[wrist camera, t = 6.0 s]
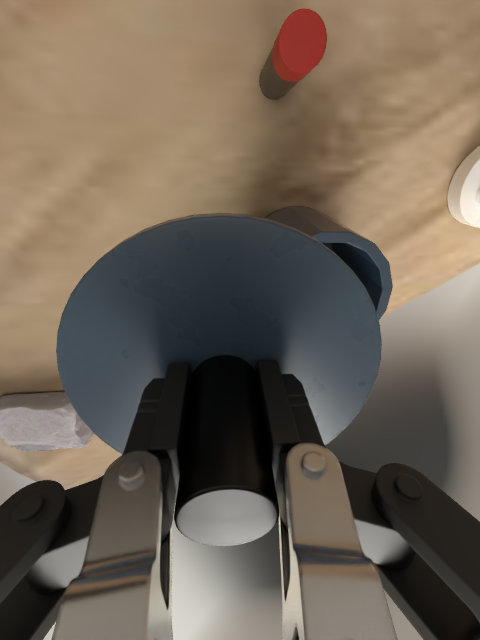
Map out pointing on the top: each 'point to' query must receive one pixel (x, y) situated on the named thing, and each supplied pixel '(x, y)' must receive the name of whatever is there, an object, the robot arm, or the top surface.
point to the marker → (293, 53)
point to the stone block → (41, 422)
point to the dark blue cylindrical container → (344, 250)
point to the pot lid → (219, 351)
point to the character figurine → (466, 191)
